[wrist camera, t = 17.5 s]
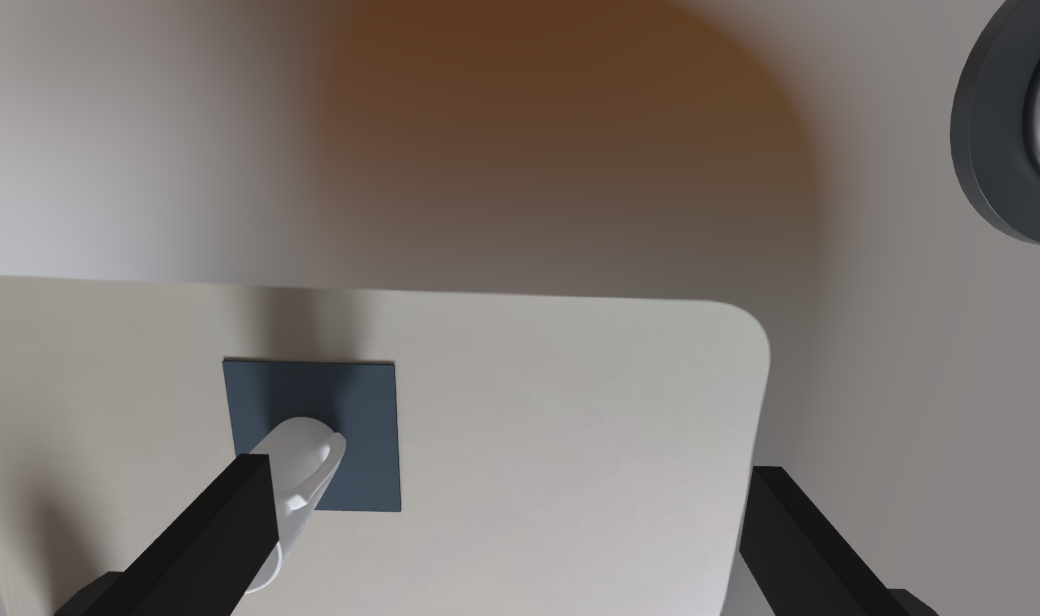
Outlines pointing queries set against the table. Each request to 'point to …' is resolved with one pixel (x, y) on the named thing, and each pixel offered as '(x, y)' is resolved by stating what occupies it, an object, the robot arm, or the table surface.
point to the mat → (325, 421)
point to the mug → (296, 481)
